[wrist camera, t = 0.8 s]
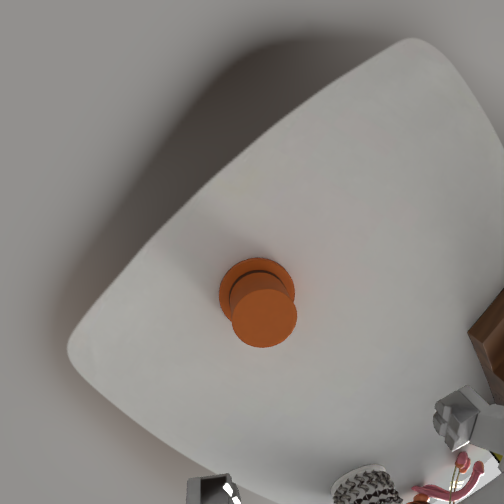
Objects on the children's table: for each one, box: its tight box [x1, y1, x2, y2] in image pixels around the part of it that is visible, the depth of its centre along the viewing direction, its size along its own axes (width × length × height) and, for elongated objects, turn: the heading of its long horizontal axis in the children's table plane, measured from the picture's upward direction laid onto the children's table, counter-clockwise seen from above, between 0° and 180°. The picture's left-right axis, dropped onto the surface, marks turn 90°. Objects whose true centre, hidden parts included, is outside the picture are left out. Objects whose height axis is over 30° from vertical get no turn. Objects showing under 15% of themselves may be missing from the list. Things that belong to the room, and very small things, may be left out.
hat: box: [219, 258, 297, 348], centre depth 23 cm, size 6×6×5 cm
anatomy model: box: [407, 452, 484, 504], centre depth 34 cm, size 10×14×15 cm
